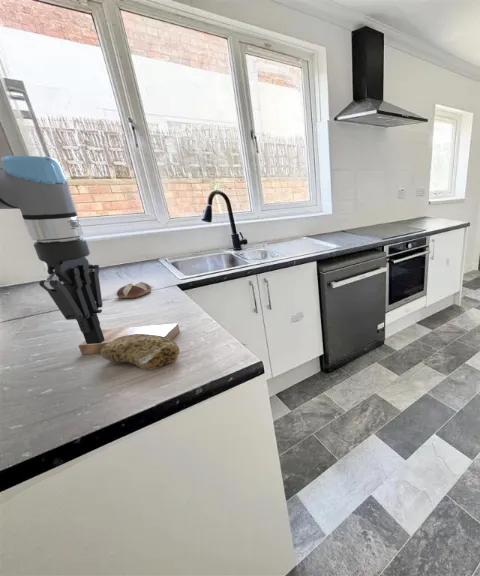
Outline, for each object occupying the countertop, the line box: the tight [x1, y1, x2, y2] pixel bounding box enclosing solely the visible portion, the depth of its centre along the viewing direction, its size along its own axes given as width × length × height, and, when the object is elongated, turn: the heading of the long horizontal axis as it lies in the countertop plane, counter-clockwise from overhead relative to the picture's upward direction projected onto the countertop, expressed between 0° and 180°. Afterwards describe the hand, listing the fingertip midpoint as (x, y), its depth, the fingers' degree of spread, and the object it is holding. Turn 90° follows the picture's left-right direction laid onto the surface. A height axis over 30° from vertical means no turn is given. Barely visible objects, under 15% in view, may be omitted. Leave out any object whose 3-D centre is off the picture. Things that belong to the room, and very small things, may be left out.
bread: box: [116, 281, 152, 299], centre depth 135 cm, size 11×11×5 cm
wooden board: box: [77, 323, 181, 355], centre depth 95 cm, size 22×10×3 cm, turn 100°
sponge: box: [100, 334, 180, 371], centre depth 84 cm, size 13×8×20 cm
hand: (95, 342), depth 70 cm, fingers closed
